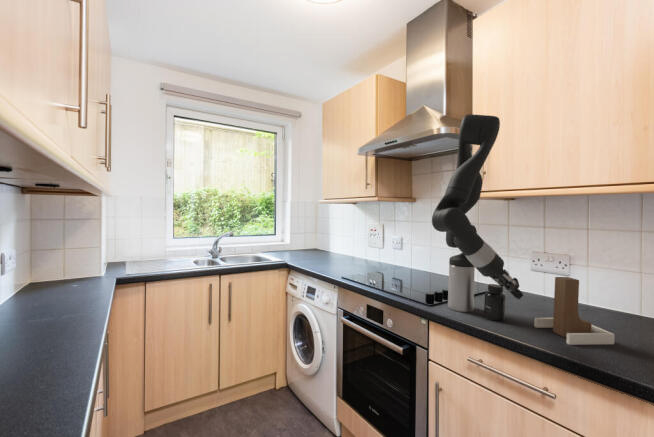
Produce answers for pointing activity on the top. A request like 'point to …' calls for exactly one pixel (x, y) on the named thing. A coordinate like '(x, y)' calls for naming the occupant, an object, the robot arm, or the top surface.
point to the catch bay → (580, 334)
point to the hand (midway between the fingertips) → (519, 296)
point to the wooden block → (567, 308)
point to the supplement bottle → (494, 303)
